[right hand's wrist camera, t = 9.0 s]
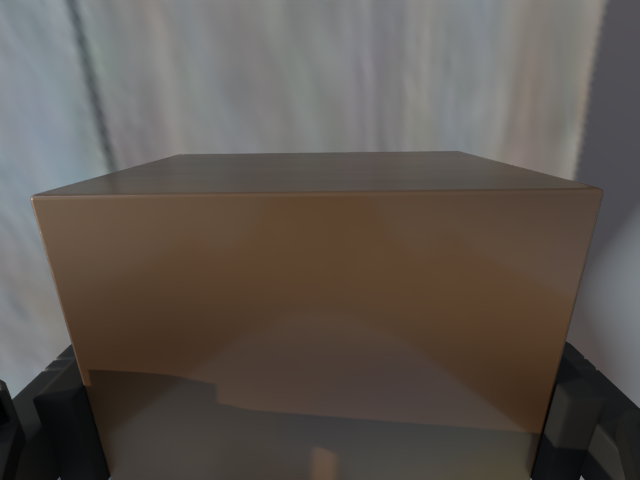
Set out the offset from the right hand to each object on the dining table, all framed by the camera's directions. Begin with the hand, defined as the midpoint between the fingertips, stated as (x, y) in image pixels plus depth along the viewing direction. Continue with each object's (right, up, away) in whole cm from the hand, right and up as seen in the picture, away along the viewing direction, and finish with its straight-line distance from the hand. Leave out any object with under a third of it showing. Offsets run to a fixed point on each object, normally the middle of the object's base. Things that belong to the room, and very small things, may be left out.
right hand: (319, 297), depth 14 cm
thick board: (0, -20, +8) cm, 21 cm away
